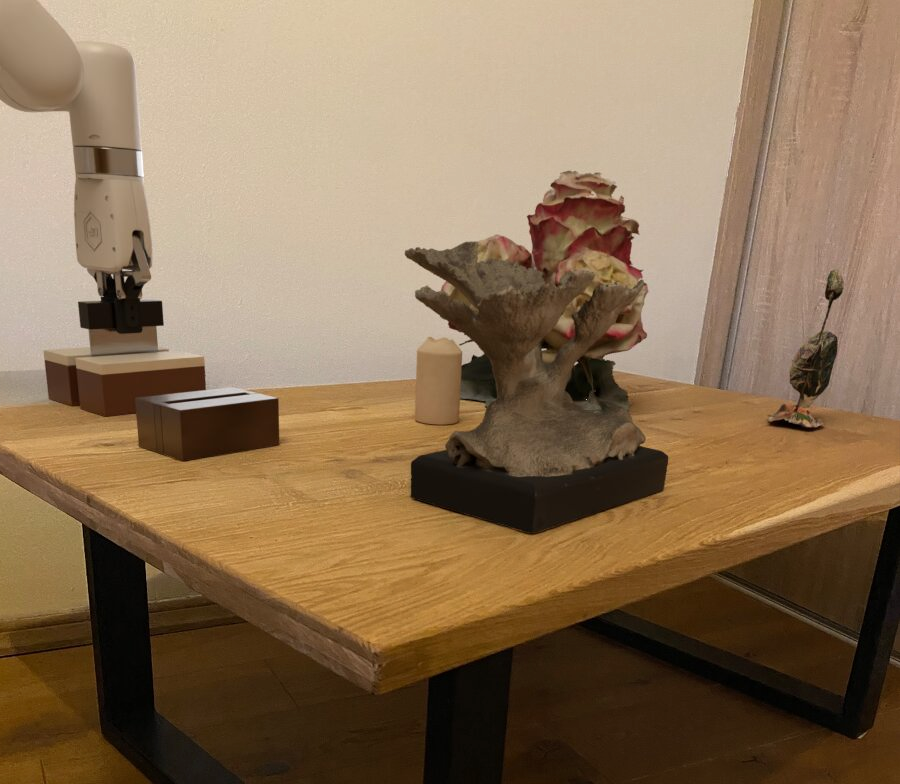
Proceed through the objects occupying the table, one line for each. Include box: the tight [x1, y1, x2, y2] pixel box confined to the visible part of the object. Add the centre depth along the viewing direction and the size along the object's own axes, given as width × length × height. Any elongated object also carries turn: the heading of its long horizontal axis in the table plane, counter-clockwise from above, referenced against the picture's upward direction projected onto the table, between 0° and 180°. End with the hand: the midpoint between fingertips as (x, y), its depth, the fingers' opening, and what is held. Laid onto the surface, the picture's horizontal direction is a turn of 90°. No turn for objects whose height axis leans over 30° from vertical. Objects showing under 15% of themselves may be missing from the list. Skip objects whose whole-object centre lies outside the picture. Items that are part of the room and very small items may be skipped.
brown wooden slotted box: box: [135, 386, 280, 462], centre depth 96 cm, size 12×8×5 cm, turn 139°
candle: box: [414, 336, 463, 426], centre depth 114 cm, size 6×6×10 cm
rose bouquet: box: [440, 170, 650, 414], centre depth 126 cm, size 26×29×30 cm
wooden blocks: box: [42, 346, 207, 418], centre depth 116 cm, size 14×14×6 cm
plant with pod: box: [766, 268, 845, 429], centre depth 122 cm, size 8×11×20 cm
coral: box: [404, 240, 669, 534], centre depth 83 cm, size 25×20×21 cm
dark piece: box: [77, 298, 165, 357], centre depth 115 cm, size 10×2×10 cm, turn 139°
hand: (123, 330), depth 114 cm, fingers closed on dark piece, 2 cm apart
